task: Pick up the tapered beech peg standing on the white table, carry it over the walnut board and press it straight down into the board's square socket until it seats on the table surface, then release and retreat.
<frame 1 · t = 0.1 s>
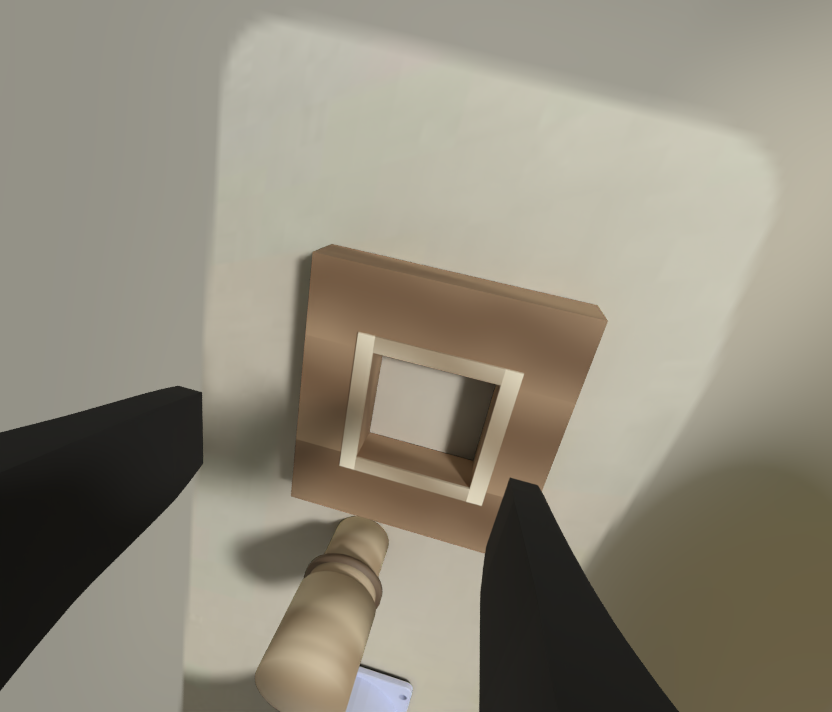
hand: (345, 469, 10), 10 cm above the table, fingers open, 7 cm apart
board: (431, 400, 20), on the table
peg: (362, 538, 24), on the table
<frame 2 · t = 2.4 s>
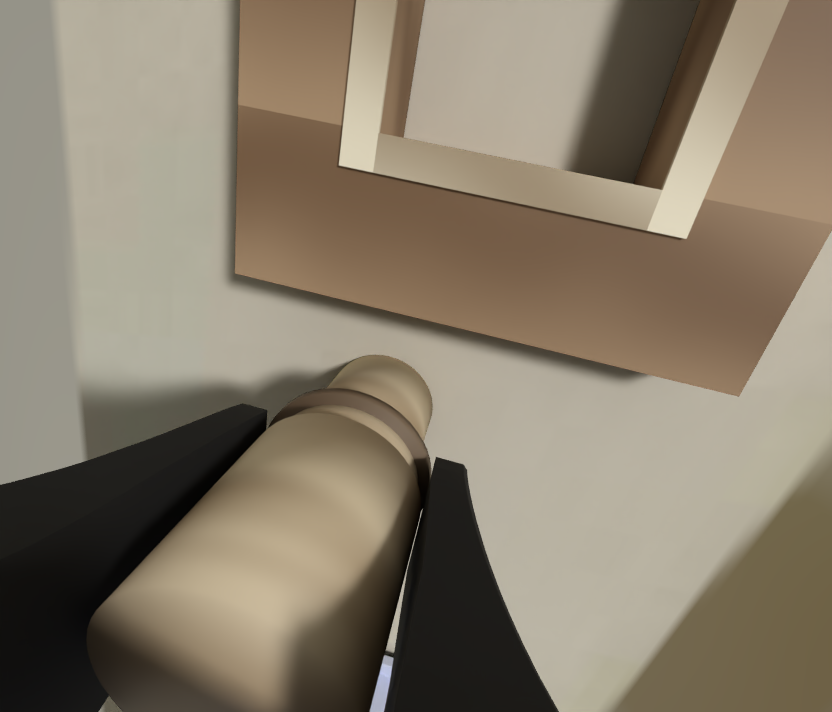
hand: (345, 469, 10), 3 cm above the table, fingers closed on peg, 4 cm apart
board: (550, 23, 9), on the table
peg: (381, 402, 13), on the table, touching gripper
when the fingers open (3 cm above the table, at t = 6.3 s): peg stays where it is, resting in board.
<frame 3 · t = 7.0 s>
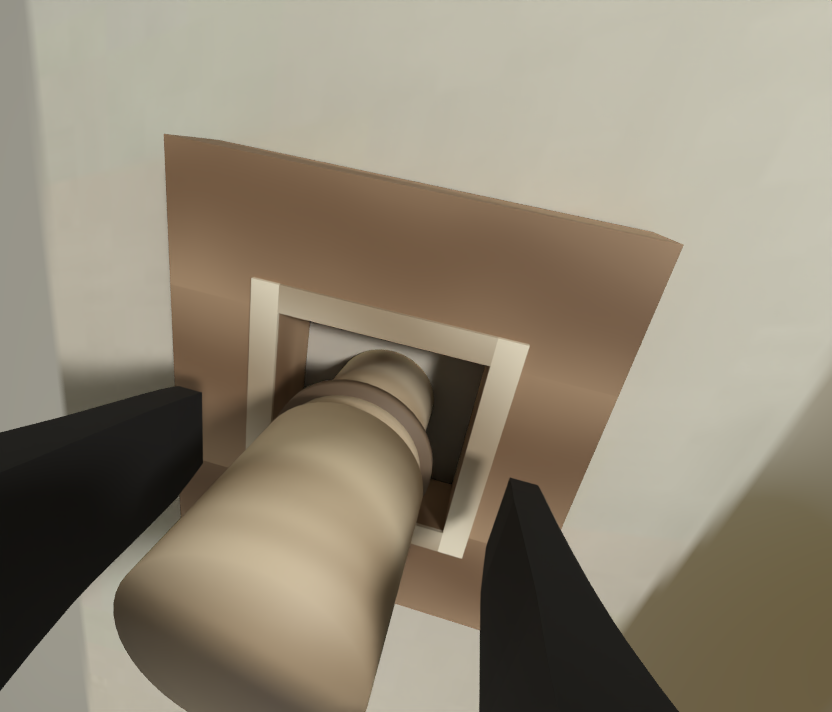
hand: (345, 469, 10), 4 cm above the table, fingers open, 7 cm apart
board: (386, 393, 13), on the table
peg: (384, 395, 13), resting in board
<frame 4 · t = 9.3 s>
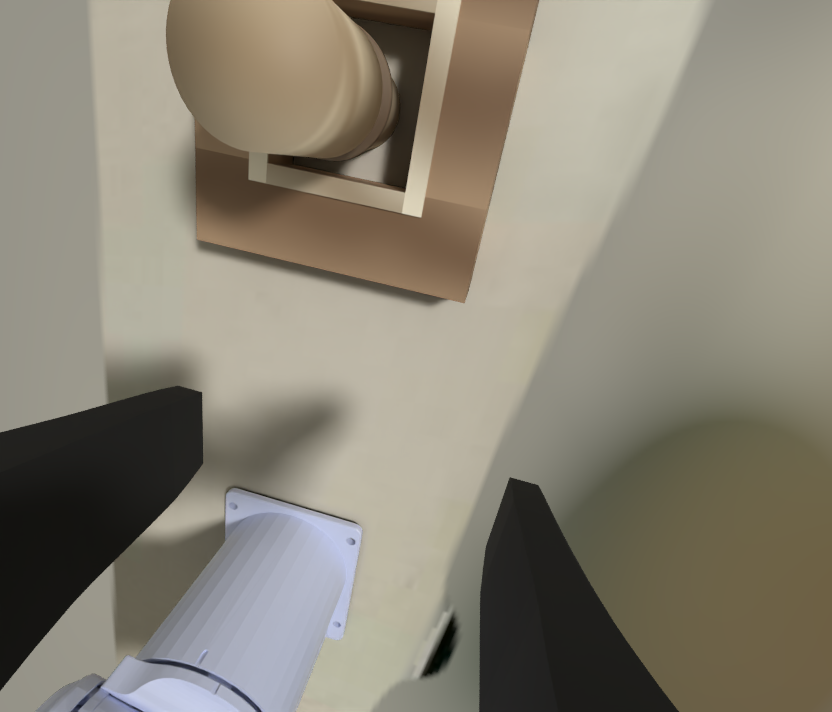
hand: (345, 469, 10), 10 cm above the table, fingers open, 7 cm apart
board: (362, 103, 17), on the table
peg: (361, 106, 17), resting in board
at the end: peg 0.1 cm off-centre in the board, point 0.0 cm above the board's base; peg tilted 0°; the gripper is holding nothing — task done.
